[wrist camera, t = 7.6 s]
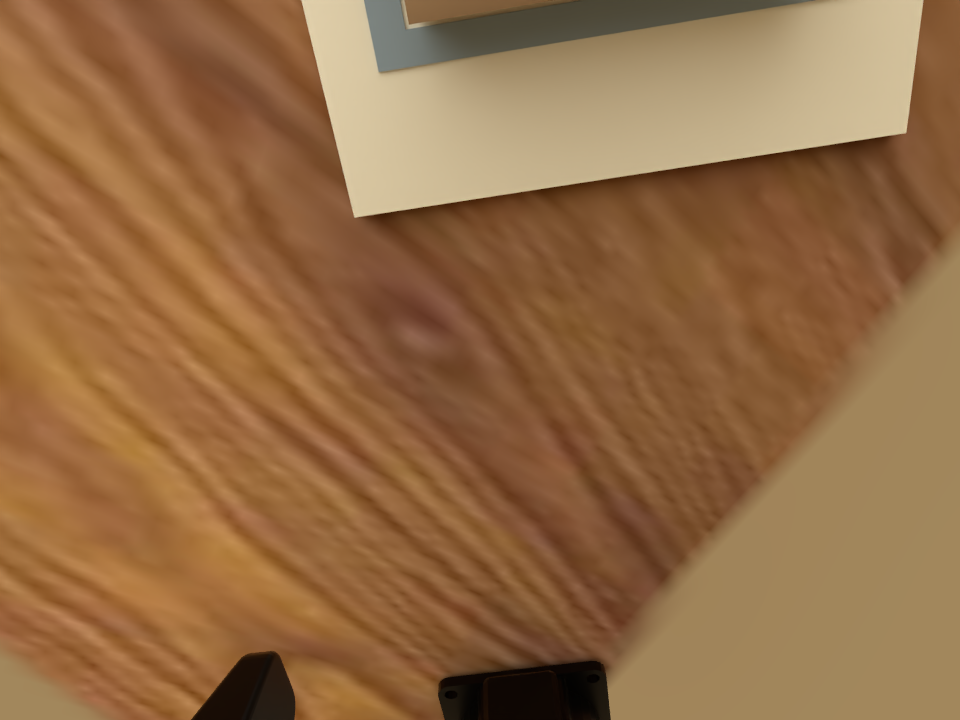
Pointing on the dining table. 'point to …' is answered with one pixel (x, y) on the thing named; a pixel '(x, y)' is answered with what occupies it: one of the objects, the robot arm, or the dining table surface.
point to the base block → (456, 8)
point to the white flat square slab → (598, 89)
